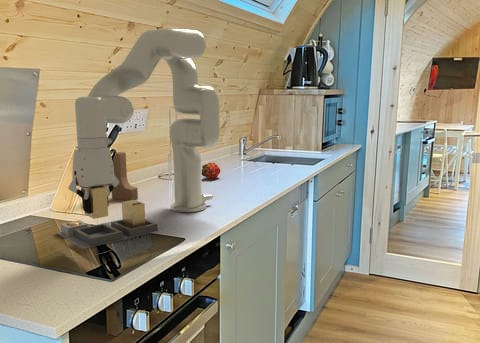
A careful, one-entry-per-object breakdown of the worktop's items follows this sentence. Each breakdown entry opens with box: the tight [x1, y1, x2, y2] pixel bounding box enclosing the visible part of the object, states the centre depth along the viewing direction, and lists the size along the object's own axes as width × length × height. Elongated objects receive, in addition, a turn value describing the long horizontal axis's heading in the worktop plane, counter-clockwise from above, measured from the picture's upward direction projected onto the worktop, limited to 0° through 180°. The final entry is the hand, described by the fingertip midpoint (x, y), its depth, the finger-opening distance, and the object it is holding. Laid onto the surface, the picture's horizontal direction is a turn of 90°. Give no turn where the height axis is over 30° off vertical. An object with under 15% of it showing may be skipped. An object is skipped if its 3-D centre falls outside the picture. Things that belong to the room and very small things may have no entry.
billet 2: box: [121, 199, 146, 229], centre depth 132 cm, size 4×6×8 cm, turn 42°
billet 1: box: [84, 186, 109, 219], centre depth 123 cm, size 4×6×8 cm, turn 42°
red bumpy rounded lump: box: [201, 162, 221, 180], centre depth 215 cm, size 8×8×12 cm
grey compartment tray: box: [56, 218, 163, 250], centre depth 131 cm, size 24×18×4 cm
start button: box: [69, 221, 79, 226], centre depth 130 cm, size 3×3×2 cm
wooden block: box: [111, 151, 139, 201], centre depth 175 cm, size 9×4×18 cm, turn 70°
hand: (96, 210), depth 124 cm, fingers closed on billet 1, 4 cm apart
